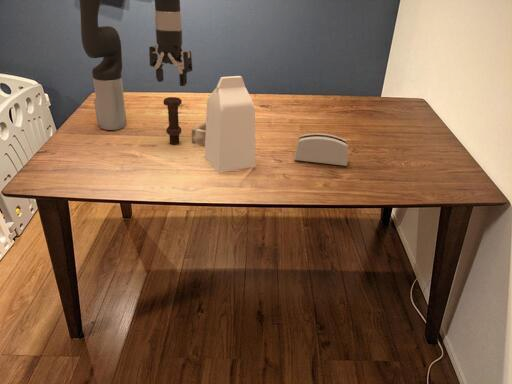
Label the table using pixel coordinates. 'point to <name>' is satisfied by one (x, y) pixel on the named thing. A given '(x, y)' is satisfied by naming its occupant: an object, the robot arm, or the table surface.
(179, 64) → the robot arm
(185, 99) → the table surface
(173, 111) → the bolt
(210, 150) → the milk
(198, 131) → the socket block
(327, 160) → the napkin holder
